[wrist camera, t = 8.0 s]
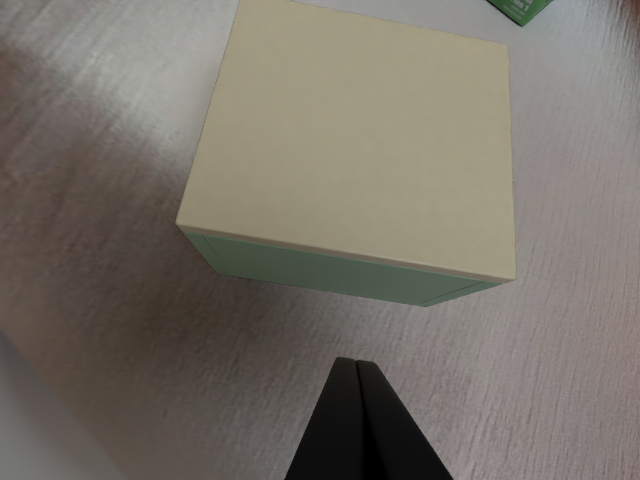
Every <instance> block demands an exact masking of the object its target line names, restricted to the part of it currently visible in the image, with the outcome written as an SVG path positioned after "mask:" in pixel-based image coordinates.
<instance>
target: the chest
mask: <svg viewBox="0 0 640 480" xmlns="http://www.w3.org/2000/svg"><path fill="white" fill-rule="evenodd" d="M182 232H183V234H184V235H185V236H186V237H187V238H188V239H189V241H190V242H191V243H192V244H193V245H194V246H195V248H196V249H197V250H198V251H199V252H200V253H201V255H202V256H203V257H204V258H205V259H206V261H207V262H208V263H209V264H210V265H211V266H212V268H213V269H214V270H215V271H216V272H217V273H218V274H222V275H228V276H234V277H241V278H247V279H253V280H259V281H266V282H272V283H278V284H285V285H291V286H297V287H303V288H310V289H316V290H322V291H329V292H335V293H341V294H347V295H354V296H360V297H366V298H373V299H379V300H385V301H391V302H398V303H404V304H410V305H417V306H423V307H428V306H431V305H435V304H438V303H441V302H445V301H448V300H451V299H455V298H458V297H461V296H465V295H468V294H471V293H475V292H478V291H481V290H485V289H488V288H491V287H495V286H498V285H501V284H503V283H498V282H491V281H485V280H479V279H473V278H467V277H461V276H455V275H449V274H443V273H437V272H431V271H425V270H419V269H413V268H406V267H400V266H394V265H388V264H382V263H376V262H370V261H364V260H358V259H352V258H346V257H340V256H334V255H328V254H321V253H315V252H309V251H303V250H297V249H291V248H285V247H279V246H273V245H267V244H261V243H255V242H249V241H243V240H236V239H230V238H224V237H218V236H212V235H206V234H200V233H194V232H188V231H182Z"/></svg>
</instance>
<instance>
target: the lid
mask: <svg viewBox="0 0 640 480" xmlns="http://www.w3.org/2000/svg"><path fill="white" fill-rule="evenodd" d="M176 225H177V226H178V227H179V228H180V230H182V231H188V232H194V233H200V234H206V235H212V236H218V237H224V238H230V239H236V240H243V241H249V242H255V243H261V244H267V245H273V246H279V247H285V248H291V249H297V250H303V251H309V252H315V253H321V254H328V255H334V256H340V257H346V258H352V259H358V260H364V261H370V262H376V263H382V264H388V265H394V266H400V267H406V268H413V269H419V270H425V271H431V272H437V273H443V274H449V275H455V276H461V277H467V278H473V279H479V280H485V281H491V282H498V283H507V282H511V281H514V280H516V256H515V227H514V198H513V169H512V140H511V111H510V83H509V54H508V45H507V44H502V43H497V42H492V41H487V40H482V39H477V38H473V37H468V36H463V35H458V34H453V33H448V32H443V31H438V30H433V29H428V28H423V27H418V26H413V25H408V24H403V23H398V22H393V21H388V20H383V19H378V18H374V17H369V16H364V15H359V14H354V13H349V12H344V11H339V10H334V9H329V8H324V7H319V6H314V5H309V4H304V3H299V2H294V1H289V0H240V1H239V4H238V8H237V11H236V15H235V18H234V22H233V25H232V29H231V32H230V36H229V39H228V42H227V46H226V49H225V53H224V56H223V60H222V63H221V67H220V70H219V73H218V77H217V80H216V84H215V87H214V91H213V94H212V98H211V101H210V105H209V108H208V111H207V115H206V118H205V122H204V125H203V129H202V132H201V136H200V139H199V142H198V146H197V149H196V153H195V156H194V160H193V163H192V167H191V170H190V173H189V177H188V180H187V184H186V187H185V191H184V194H183V198H182V201H181V205H180V208H179V211H178V215H177V218H176Z"/></svg>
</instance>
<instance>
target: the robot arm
mask: <svg viewBox="0 0 640 480" xmlns="http://www.w3.org/2000/svg"><path fill="white" fill-rule="evenodd" d="M284 480H454V479H453V478H452V476H451V475H450V473H449V472H448V470H447V469H446V467H445V466H444V464H443V463H442V461H441V460H440V458H439V457H438V455H437V454H436V452H435V451H434V449H433V448H432V446H431V445H430V443H429V442H428V440H427V439H426V437H425V436H424V435H423V433H422V432H421V430H420V429H419V427H418V426H417V424H416V423H415V421H414V420H413V418H412V417H411V415H410V414H409V412H408V411H407V409H406V408H405V406H404V405H403V403H402V402H401V400H400V399H399V397H398V396H397V394H396V393H395V391H394V390H393V388H392V387H391V385H390V384H389V382H388V381H387V379H386V378H385V376H384V375H383V373H382V372H381V370H380V369H379V367H378V366H377V364H375V363H374V362H370V361H364V360H357V361H356V362H355V360H354V359H350V358H344V357H337V358H336V360H335V362H334V364H333V367H332V369H331V371H330V374H329V376H328V378H327V381H326V383H325V385H324V388H323V390H322V392H321V395H320V397H319V399H318V402H317V404H316V406H315V409H314V411H313V413H312V416H311V418H310V420H309V423H308V425H307V428H306V430H305V432H304V435H303V437H302V439H301V442H300V444H299V446H298V449H297V451H296V453H295V456H294V458H293V460H292V463H291V465H290V467H289V470H288V472H287V474H286V477H285V479H284Z"/></svg>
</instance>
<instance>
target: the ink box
mask: <svg viewBox="0 0 640 480" xmlns="http://www.w3.org/2000/svg"><path fill="white" fill-rule="evenodd" d="M489 1H490V2H491V3H493V4H494V5H495V6H496V7H498V8H499V9H500V10H502V11H503V12H504V13H505V14H507V15H508V16H509V17H511V18H512V19H513V20H515V21H516V22H518V23H519V24H520V25H521V26H524V25H525V24H526V23H528V22H529V21H530V20H531V19H532V18H533V17H534V16H535V15H537V14H538V13H539V12H540V11H541V10H542V9H543V8H545V7H546V6H547V5H548V4H549V3H550V2H552V1H553V0H489Z"/></svg>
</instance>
